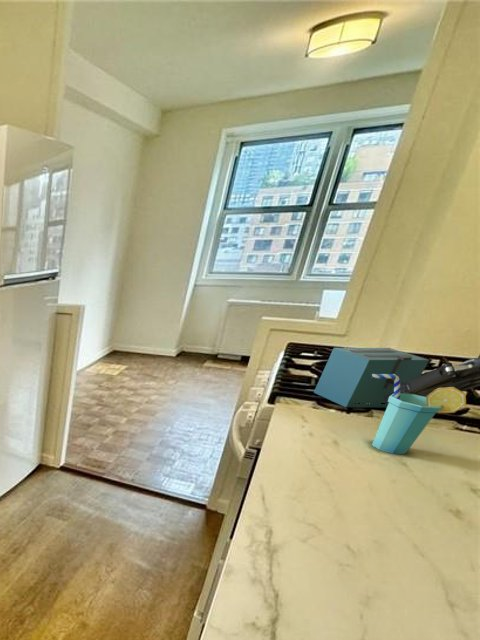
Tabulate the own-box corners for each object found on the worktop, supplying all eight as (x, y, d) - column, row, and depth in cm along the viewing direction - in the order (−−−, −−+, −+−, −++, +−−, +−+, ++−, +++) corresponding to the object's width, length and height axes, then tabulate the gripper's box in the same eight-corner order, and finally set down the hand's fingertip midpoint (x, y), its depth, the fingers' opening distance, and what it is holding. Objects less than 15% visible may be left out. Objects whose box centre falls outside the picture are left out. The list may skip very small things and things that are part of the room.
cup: (342, 445, 99) (377, 376, 92) (336, 432, 105) (369, 366, 98) (436, 464, 93) (482, 391, 86) (424, 448, 98) (466, 378, 91)
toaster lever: (394, 384, 114) (399, 376, 113) (432, 398, 107) (437, 390, 106) (379, 384, 114) (384, 376, 113) (416, 398, 107) (421, 390, 106)
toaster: (366, 392, 126) (391, 343, 120) (409, 410, 116) (438, 357, 110) (313, 392, 126) (335, 343, 120) (351, 410, 116) (377, 357, 110)
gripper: (486, 371, 89) (364, 416, 112) (576, 371, 89) (436, 416, 112) (471, 335, 91) (355, 386, 114) (559, 335, 91) (425, 386, 114)
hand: (395, 401), depth 113 cm, fingers closed on toaster lever, 4 cm apart
